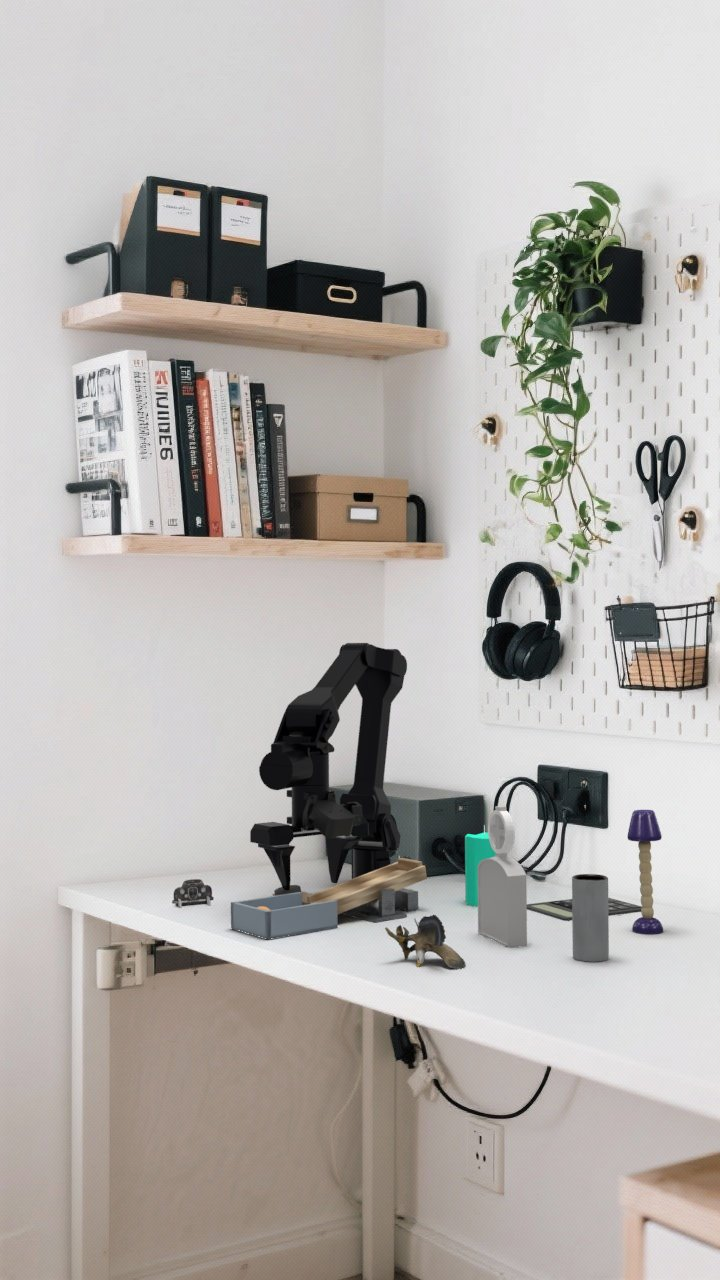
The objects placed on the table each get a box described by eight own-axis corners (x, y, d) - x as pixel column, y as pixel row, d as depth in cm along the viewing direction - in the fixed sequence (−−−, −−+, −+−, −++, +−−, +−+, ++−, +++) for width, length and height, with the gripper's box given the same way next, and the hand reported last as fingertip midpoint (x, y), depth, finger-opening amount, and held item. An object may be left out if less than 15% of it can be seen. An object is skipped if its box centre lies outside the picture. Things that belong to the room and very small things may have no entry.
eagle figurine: (379, 958, 171) (440, 953, 166) (388, 905, 175) (448, 898, 170) (411, 981, 176) (472, 977, 171) (419, 929, 180) (479, 923, 175)
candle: (504, 899, 214) (503, 822, 214) (504, 907, 208) (504, 827, 208) (465, 899, 215) (465, 822, 215) (465, 906, 209) (464, 827, 209)
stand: (387, 902, 213) (387, 875, 213) (432, 912, 205) (432, 884, 205) (331, 911, 206) (330, 883, 206) (375, 922, 198) (374, 893, 198)
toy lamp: (625, 932, 189) (624, 811, 189) (631, 926, 194) (630, 807, 194) (661, 935, 188) (660, 813, 188) (665, 928, 192) (664, 809, 192)
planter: (600, 963, 172) (599, 881, 172) (567, 959, 174) (566, 878, 174) (614, 956, 176) (613, 875, 176) (581, 952, 178) (580, 872, 178)
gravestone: (508, 947, 181) (507, 811, 181) (478, 933, 190) (477, 803, 190) (526, 946, 182) (525, 810, 182) (496, 931, 191) (495, 802, 191)
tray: (231, 929, 194) (230, 902, 194) (299, 917, 201) (299, 892, 201) (267, 939, 187) (267, 912, 187) (337, 927, 194) (337, 900, 194)
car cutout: (177, 914, 208) (177, 884, 208) (165, 906, 214) (165, 877, 214) (271, 905, 214) (271, 876, 214) (256, 898, 220) (256, 870, 220)
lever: (364, 866, 219) (362, 850, 218) (427, 878, 207) (424, 862, 207) (270, 901, 207) (268, 885, 207) (331, 916, 196) (328, 899, 195)
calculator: (648, 906, 205) (565, 917, 198) (648, 913, 205) (565, 923, 198) (600, 894, 215) (520, 903, 208) (600, 900, 215) (520, 909, 208)
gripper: (291, 792, 197) (291, 901, 197) (391, 783, 209) (391, 886, 209) (248, 786, 206) (248, 890, 206) (346, 778, 218) (346, 877, 218)
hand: (310, 886), depth 210 cm, fingers open, 9 cm apart
